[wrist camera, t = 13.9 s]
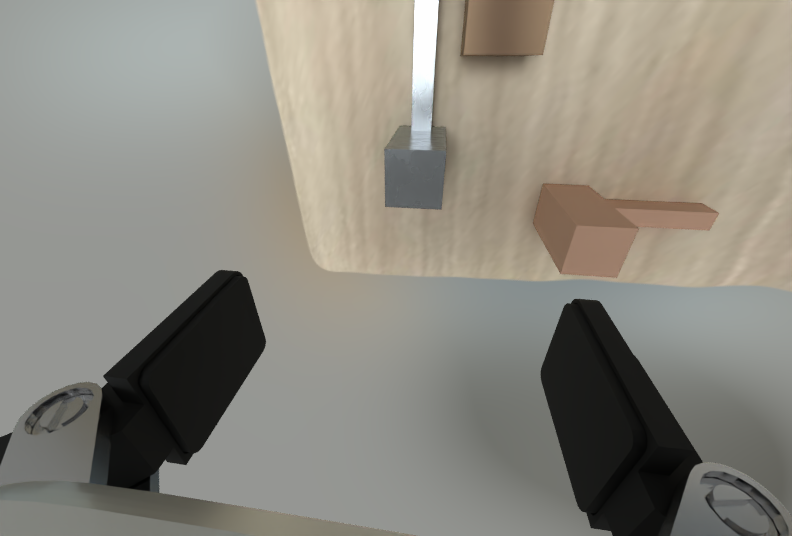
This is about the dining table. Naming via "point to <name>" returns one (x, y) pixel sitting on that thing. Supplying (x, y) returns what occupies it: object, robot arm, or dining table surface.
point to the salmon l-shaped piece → (604, 226)
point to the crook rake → (418, 128)
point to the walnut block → (505, 27)
